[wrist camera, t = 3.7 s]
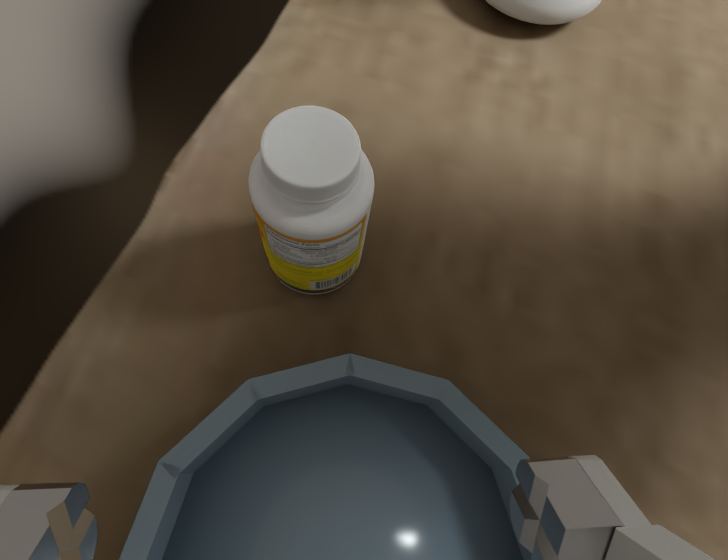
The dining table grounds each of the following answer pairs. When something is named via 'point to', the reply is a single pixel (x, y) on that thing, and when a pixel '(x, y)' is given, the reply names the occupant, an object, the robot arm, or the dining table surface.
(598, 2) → the flower in vase
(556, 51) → the dining table surface
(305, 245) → the supplement bottle
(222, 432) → the slate dish
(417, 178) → the dining table surface
